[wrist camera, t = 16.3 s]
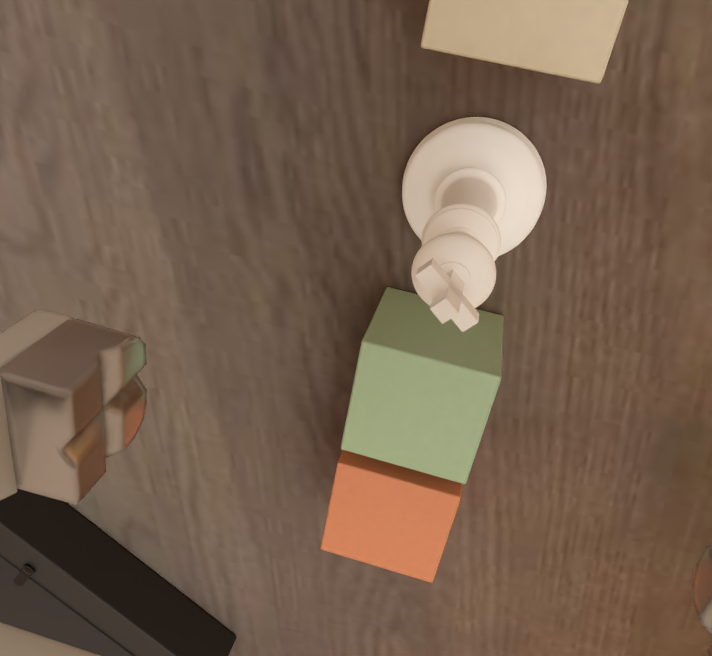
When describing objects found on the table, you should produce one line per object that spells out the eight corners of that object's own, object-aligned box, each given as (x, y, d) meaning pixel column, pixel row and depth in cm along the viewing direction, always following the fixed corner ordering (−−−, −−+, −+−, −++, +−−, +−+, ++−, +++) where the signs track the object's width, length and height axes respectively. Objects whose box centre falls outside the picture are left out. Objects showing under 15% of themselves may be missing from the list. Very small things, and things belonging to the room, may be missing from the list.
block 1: (386, 285, 24) (361, 341, 20) (504, 315, 24) (501, 377, 20) (366, 382, 26) (339, 449, 22) (473, 411, 26) (465, 485, 22)
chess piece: (488, 84, 20) (468, 142, 12) (575, 202, 21) (616, 337, 13) (374, 178, 22) (285, 287, 14) (458, 281, 24) (425, 443, 15)
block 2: (363, 394, 27) (337, 462, 23) (469, 423, 26) (461, 498, 22) (346, 474, 29) (319, 549, 25) (444, 502, 28) (432, 584, 24)
